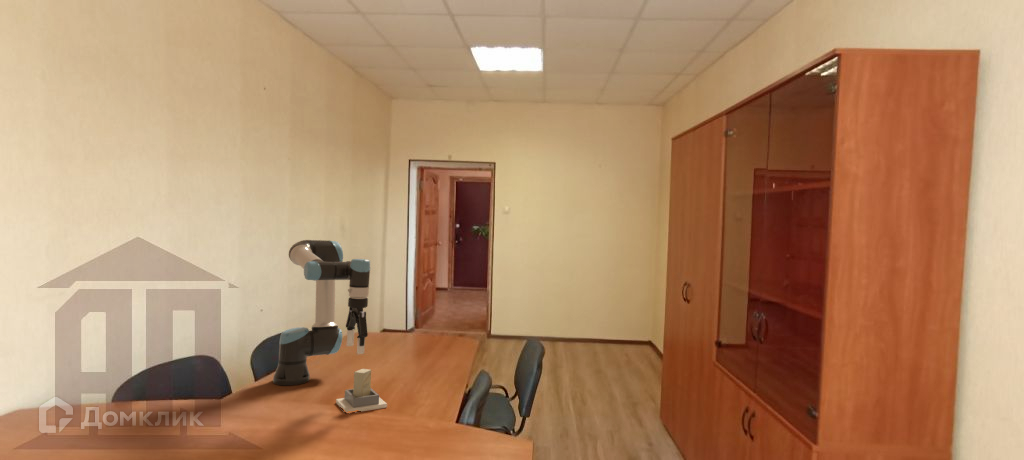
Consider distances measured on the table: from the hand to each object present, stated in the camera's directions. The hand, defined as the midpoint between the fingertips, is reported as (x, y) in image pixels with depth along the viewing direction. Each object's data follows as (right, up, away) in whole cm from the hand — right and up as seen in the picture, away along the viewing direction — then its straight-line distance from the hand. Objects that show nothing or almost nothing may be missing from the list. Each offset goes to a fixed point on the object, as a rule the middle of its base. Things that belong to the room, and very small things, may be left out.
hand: (355, 349), depth 194 cm
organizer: (+3, -21, -2) cm, 22 cm away
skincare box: (+3, -20, -2) cm, 21 cm away
